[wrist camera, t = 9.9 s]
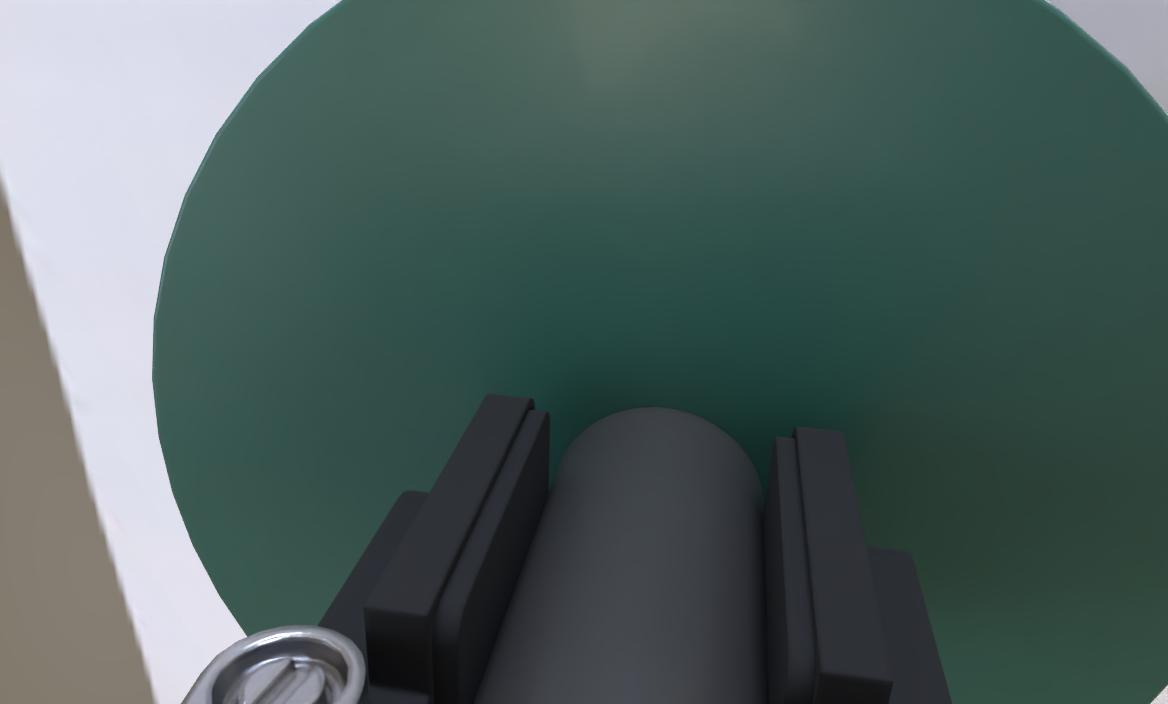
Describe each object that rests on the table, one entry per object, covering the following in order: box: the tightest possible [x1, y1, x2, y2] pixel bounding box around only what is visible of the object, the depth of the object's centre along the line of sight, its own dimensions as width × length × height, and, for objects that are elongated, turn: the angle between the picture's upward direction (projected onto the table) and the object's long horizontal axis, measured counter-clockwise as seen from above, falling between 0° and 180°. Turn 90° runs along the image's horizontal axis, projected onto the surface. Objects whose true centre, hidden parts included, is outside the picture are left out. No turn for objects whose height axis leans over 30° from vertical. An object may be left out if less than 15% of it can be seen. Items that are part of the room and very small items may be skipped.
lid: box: [152, 0, 1168, 704], centre depth 10 cm, size 14×14×6 cm
